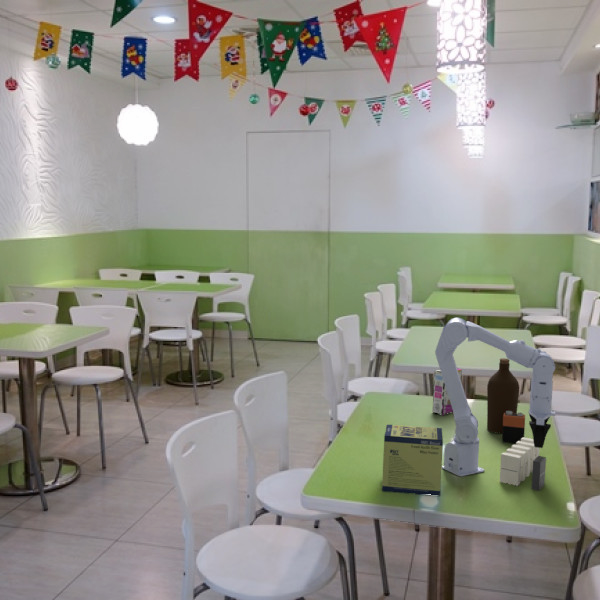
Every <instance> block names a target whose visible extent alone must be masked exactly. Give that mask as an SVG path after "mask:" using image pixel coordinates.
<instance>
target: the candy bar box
mask: <svg viewBox="0 0 600 600" xmlns="http://www.w3.org/2000/svg"><path fill="white" fill-rule="evenodd" d="M457 370H458V373H459V376H460V379H461V380H462V372H463V371H462V368H458V367H457ZM433 375H434V376H433V377H434V379H433V395H432V412H434V413H433V414H435V413H438V414H441V415H440V416H445V415H444V414H446V415H448V414H447V413H449V414H451V413H450V412H452V413H453V409H452V406H451V403H450V399H449V396H448V393H447V390H446V387H445V383H444V380H443V377H442V374H441V370H440V369H437V370H434V374H433ZM438 414H437V415H438Z"/></svg>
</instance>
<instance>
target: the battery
mask: <svg viewBox="0 0 600 600" xmlns="http://www.w3.org/2000/svg"><path fill="white" fill-rule="evenodd" d="M525 426H526V415H525V414H524V413H523V412H517V414H516V413H512V411H506V413H504V415H503V432H502V434H501V442H502V443H505V444H506V443H507V444H513V443H514V444H513V445H516V442H517V441H521V438H523V437H524V438H525V430H526V427H525Z"/></svg>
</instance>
